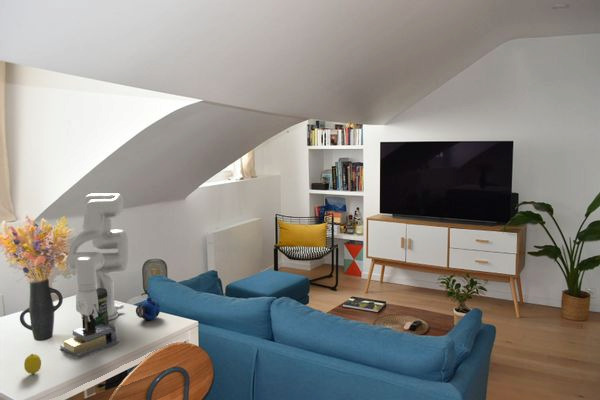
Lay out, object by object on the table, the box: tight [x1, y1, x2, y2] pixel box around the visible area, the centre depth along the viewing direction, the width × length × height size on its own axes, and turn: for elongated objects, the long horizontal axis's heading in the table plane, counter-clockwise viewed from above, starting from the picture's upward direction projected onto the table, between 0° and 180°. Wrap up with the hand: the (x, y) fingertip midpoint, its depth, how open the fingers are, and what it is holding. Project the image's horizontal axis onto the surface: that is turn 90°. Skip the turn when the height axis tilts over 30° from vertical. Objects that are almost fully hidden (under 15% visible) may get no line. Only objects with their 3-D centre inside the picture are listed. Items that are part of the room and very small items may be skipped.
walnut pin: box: [84, 315, 93, 333], centre depth 208 cm, size 3×3×9 cm
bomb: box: [135, 289, 161, 321], centre depth 237 cm, size 10×11×15 cm
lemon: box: [23, 353, 42, 375], centre depth 184 cm, size 6×6×8 cm
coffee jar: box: [92, 288, 110, 324], centre depth 226 cm, size 10×8×19 cm
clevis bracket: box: [59, 321, 120, 359], centre depth 209 cm, size 18×14×7 cm
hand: (89, 328), depth 208 cm, fingers closed on walnut pin, 3 cm apart
